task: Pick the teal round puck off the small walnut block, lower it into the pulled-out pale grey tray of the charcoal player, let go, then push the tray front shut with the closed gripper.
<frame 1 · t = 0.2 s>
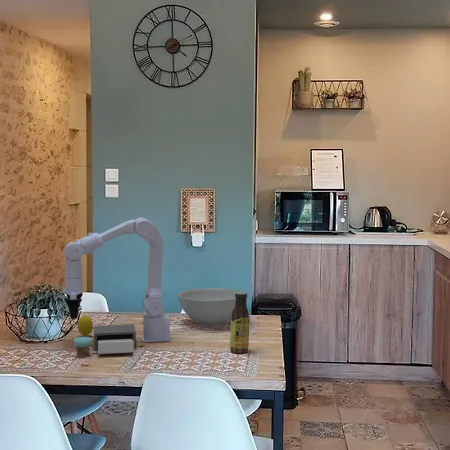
hand: (74, 316, 225), 10 cm above the table, tool pointing down, fingers open, 7 cm apart
decorative bowl: (211, 324, 257), on the table
sauce bottle: (239, 351, 218), on the table
tray: (115, 343, 215), point 3 cm above the table, slide at 8.5 cm
teal round puck: (83, 344, 212), point 3 cm above the table, touching walnut block
walnut block: (83, 355, 212), on the table
lemon: (85, 337, 237), on the table
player: (114, 345, 225), on the table
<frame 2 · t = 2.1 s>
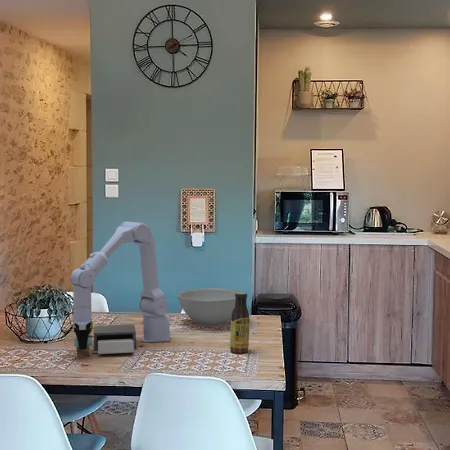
hand: (83, 346, 212), 3 cm above the table, tool pointing down, fingers closed on teal round puck, 6 cm apart
teal round puck: (83, 344, 212), point 3 cm above the table, touching gripper, walnut block
everything else where it was.
when the fingers open (3 cm above the table, at t = 4.9 s): teal round puck drops 2 cm, resting on tray.
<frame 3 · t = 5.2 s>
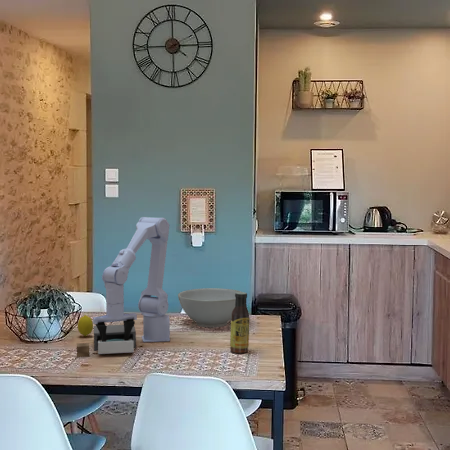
hand: (115, 342, 216), 3 cm above the table, tool pointing down, fingers open, 7 cm apart
tray: (115, 343, 215), point 3 cm above the table, slide at 8.5 cm, touching teal round puck
teal round puck: (115, 347, 216), point 2 cm above the table, touching tray
everything else where it was.
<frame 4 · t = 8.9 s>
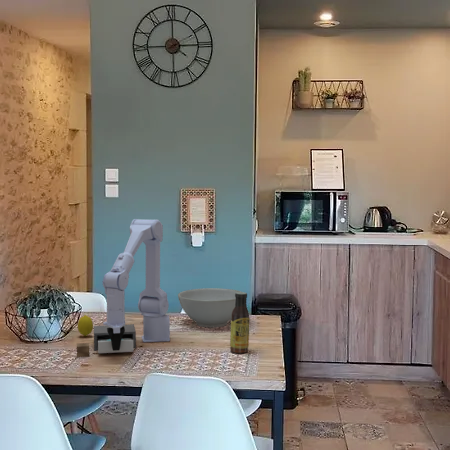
hand: (116, 349, 210), 2 cm above the table, tool pointing down, fingers closed
tray: (115, 342, 216), point 3 cm above the table, slide at 7.6 cm, touching teal round puck, gripper
everything else where it was.
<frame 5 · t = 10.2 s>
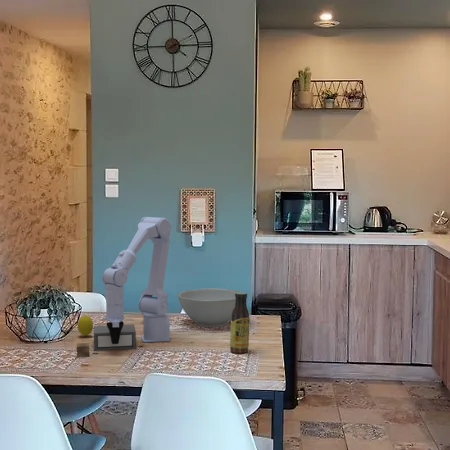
hand: (115, 343, 218), 2 cm above the table, tool pointing down, fingers closed
tray: (114, 337, 224), point 3 cm above the table, slide at 0.0 cm, touching teal round puck
teal round puck: (114, 340, 224), point 2 cm above the table, touching tray
everything else where it was.
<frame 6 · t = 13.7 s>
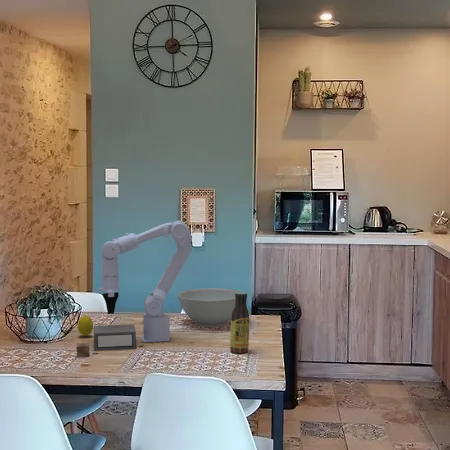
hand: (110, 313, 230), 10 cm above the table, tool pointing down, fingers closed
nothing on the table moved.
at the end: tray slide at 0.0 cm; teal round puck inside the target area on the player (0.3 cm from its centre), point 1.8 cm above the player's base; teal round puck tilted 0° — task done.
